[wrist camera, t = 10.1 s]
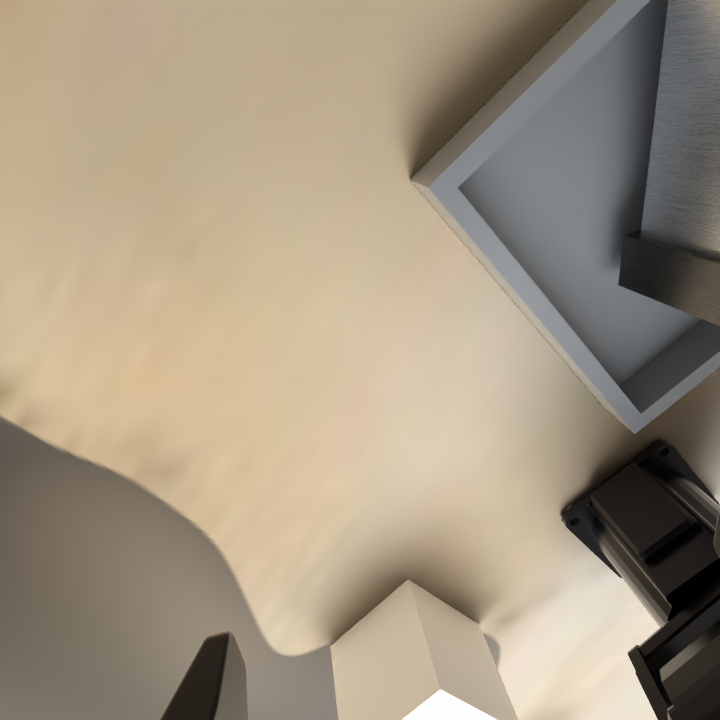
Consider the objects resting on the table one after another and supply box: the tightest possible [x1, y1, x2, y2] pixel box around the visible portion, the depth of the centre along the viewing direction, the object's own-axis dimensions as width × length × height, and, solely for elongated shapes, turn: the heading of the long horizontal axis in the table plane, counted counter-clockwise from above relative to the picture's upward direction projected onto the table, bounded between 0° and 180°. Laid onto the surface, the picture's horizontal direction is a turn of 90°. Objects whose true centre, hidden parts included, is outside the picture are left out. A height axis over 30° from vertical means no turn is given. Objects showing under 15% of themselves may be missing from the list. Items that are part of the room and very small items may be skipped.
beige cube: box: [330, 580, 518, 720], centre depth 26 cm, size 6×6×6 cm
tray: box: [410, 0, 720, 434], centre depth 19 cm, size 14×14×2 cm
